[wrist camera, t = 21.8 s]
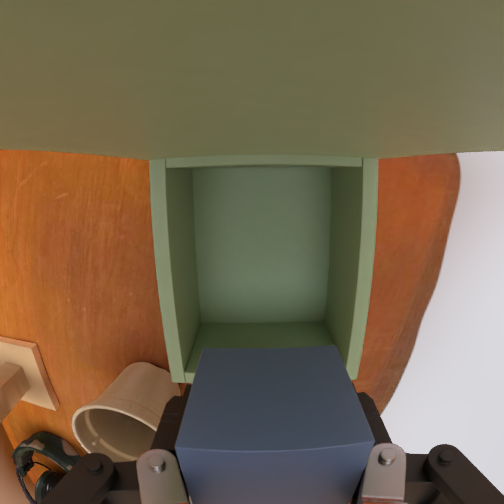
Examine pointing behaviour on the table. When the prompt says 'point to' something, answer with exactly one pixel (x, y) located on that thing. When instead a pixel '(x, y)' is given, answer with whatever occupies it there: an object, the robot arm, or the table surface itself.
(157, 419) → the flower pot
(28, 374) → the post
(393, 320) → the table surface
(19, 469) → the headphones
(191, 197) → the chest
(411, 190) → the table surface
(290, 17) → the lid
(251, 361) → the block
